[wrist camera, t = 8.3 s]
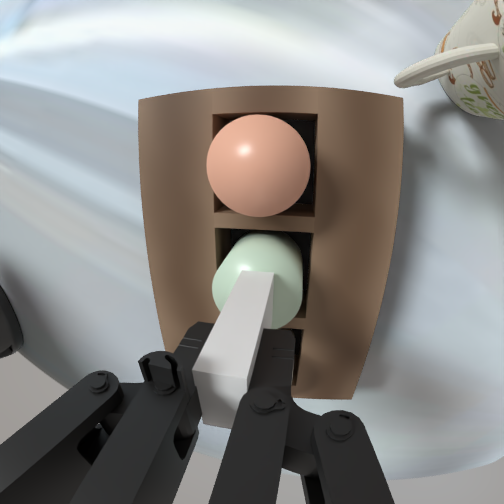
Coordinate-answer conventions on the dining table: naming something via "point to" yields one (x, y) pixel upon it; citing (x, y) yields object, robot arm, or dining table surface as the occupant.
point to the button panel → (278, 217)
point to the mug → (468, 61)
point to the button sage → (265, 260)
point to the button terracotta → (258, 165)
